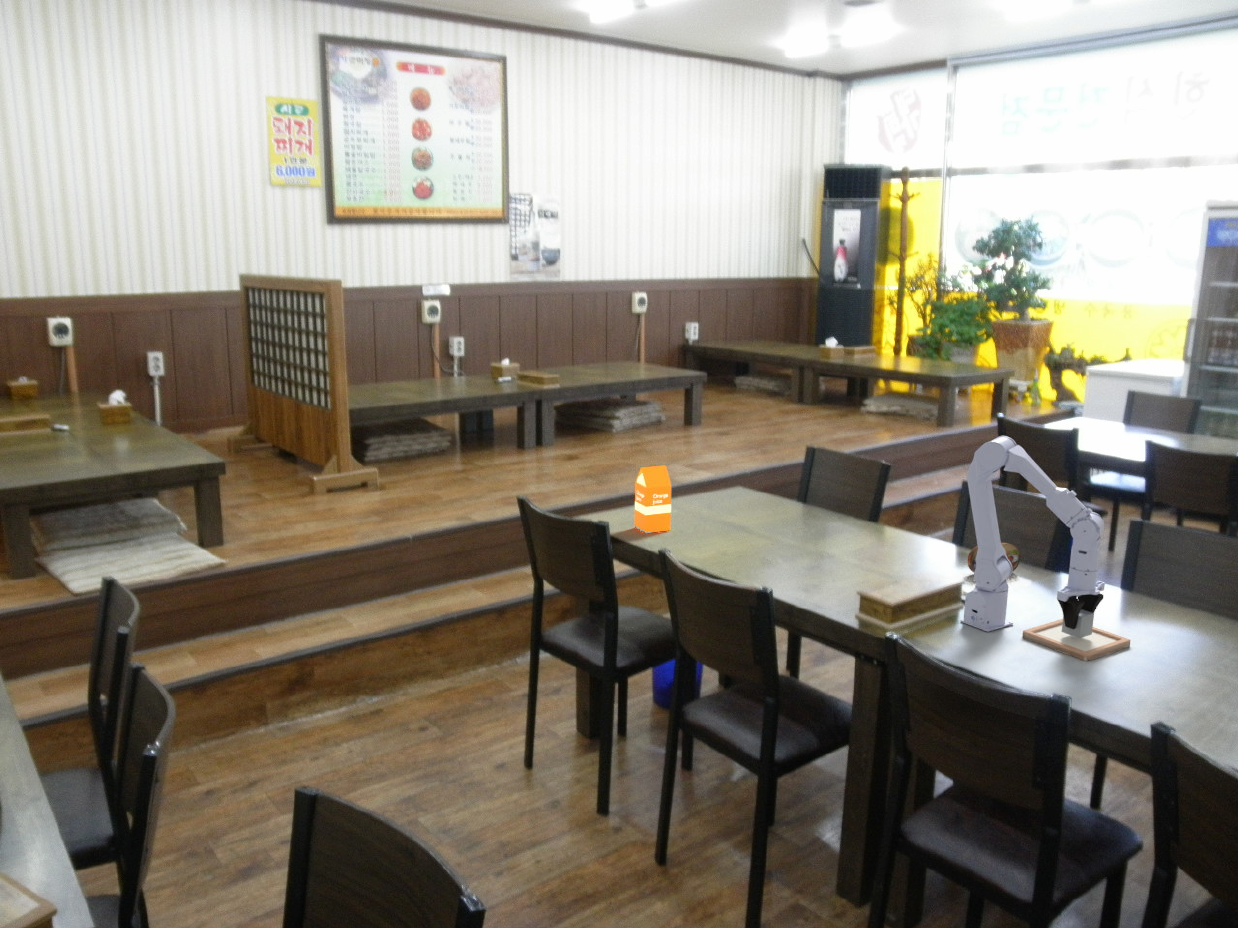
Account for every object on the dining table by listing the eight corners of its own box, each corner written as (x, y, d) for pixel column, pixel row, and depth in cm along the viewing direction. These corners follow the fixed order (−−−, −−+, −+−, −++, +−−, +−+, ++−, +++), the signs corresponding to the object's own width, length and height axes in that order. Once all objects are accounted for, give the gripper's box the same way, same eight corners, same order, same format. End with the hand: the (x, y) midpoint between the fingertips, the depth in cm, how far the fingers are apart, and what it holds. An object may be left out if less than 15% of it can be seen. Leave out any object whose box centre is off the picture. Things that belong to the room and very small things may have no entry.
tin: (971, 577, 277) (973, 547, 275) (964, 573, 280) (967, 544, 278) (1019, 573, 281) (1022, 543, 279) (1012, 569, 284) (1015, 540, 282)
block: (1079, 638, 229) (1082, 616, 228) (1061, 631, 233) (1063, 610, 232) (1091, 634, 231) (1094, 613, 230) (1073, 628, 235) (1075, 607, 234)
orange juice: (634, 527, 321) (635, 465, 317) (659, 524, 325) (660, 462, 321) (645, 534, 314) (646, 470, 310) (671, 531, 318) (672, 467, 314)
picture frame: (1086, 661, 222) (1087, 654, 221) (1022, 637, 235) (1023, 630, 234) (1129, 646, 230) (1130, 639, 230) (1065, 624, 243) (1066, 617, 243)
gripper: (1080, 577, 222) (1073, 637, 224) (1119, 567, 229) (1112, 624, 232) (1051, 569, 227) (1045, 627, 230) (1090, 558, 235) (1084, 615, 238)
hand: (1077, 625), depth 232 cm, fingers open, 5 cm apart
